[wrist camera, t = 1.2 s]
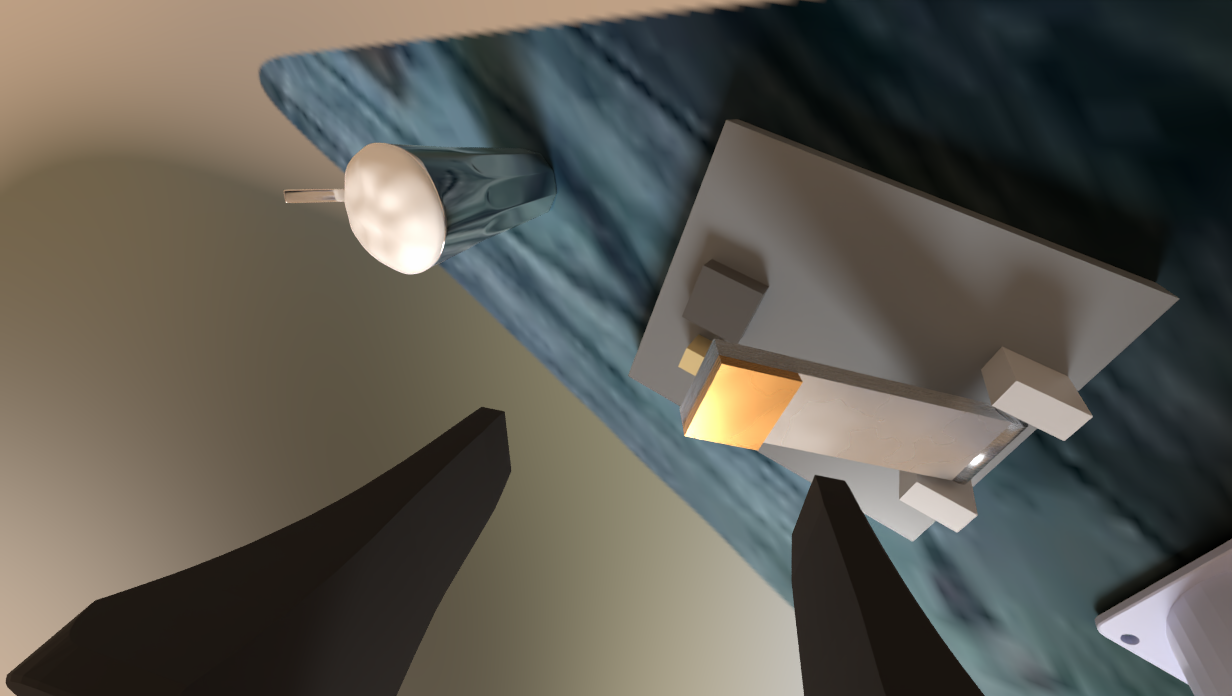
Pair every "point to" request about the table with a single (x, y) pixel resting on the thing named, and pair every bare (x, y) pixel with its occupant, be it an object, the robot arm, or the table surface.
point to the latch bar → (841, 414)
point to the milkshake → (436, 199)
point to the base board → (886, 305)
